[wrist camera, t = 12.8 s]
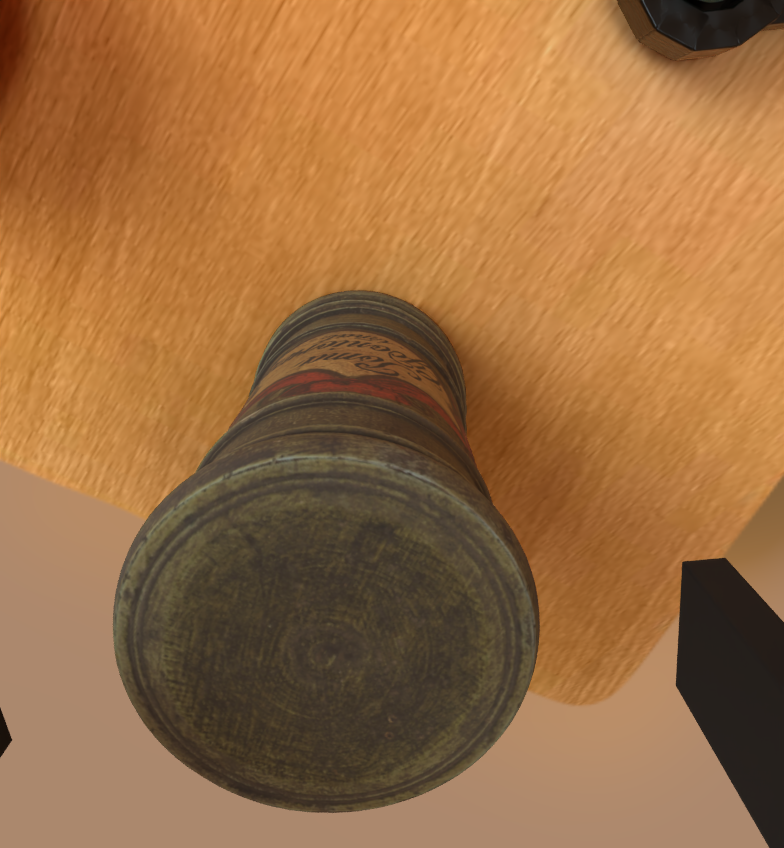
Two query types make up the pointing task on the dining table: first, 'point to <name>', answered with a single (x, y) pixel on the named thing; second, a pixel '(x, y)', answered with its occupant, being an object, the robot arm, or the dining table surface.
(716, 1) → the button
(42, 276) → the dining table surface
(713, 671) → the robot arm
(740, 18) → the scale
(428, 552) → the container
